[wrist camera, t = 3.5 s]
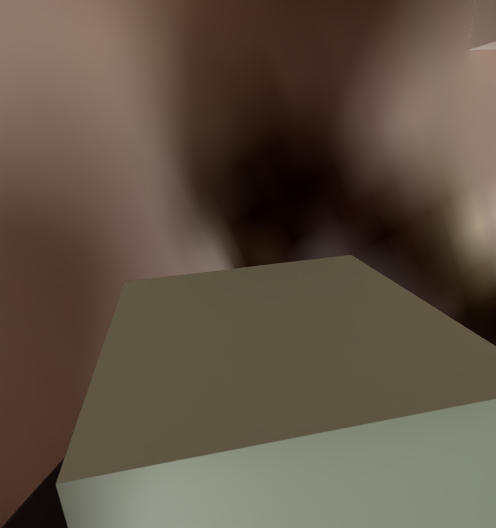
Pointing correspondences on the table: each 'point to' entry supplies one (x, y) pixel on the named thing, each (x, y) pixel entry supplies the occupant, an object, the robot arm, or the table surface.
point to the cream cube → (483, 25)
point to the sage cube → (284, 407)
